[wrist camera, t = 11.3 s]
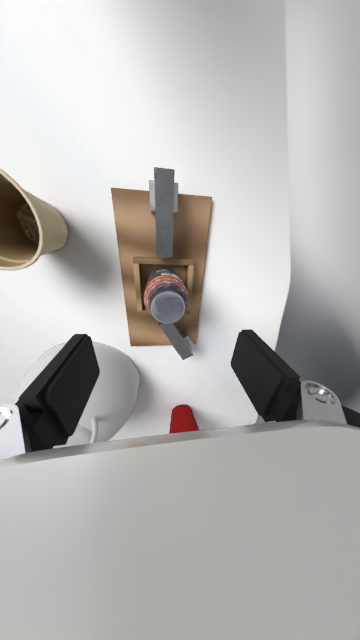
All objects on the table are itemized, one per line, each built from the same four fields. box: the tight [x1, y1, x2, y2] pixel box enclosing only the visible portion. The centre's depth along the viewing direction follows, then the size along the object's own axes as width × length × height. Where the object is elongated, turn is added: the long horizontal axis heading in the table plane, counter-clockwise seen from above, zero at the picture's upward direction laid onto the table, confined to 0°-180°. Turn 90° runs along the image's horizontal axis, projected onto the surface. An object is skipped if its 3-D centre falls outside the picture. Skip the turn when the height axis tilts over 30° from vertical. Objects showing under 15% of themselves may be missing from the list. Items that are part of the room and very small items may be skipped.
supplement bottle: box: [144, 268, 189, 324], centre depth 22 cm, size 6×6×11 cm
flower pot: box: [0, 169, 68, 270], centre depth 18 cm, size 9×9×9 cm
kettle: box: [13, 342, 140, 448], centre depth 26 cm, size 25×23×22 cm
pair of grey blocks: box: [149, 167, 194, 360], centre depth 25 cm, size 28×8×5 cm, turn 177°
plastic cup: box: [169, 405, 199, 434], centre depth 40 cm, size 11×11×12 cm
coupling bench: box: [111, 188, 212, 346], centre depth 26 cm, size 26×14×3 cm, turn 177°
